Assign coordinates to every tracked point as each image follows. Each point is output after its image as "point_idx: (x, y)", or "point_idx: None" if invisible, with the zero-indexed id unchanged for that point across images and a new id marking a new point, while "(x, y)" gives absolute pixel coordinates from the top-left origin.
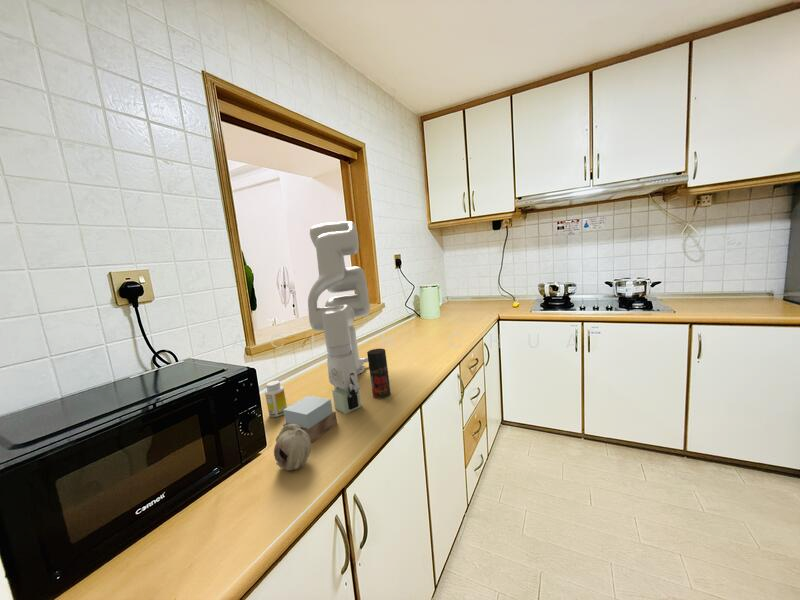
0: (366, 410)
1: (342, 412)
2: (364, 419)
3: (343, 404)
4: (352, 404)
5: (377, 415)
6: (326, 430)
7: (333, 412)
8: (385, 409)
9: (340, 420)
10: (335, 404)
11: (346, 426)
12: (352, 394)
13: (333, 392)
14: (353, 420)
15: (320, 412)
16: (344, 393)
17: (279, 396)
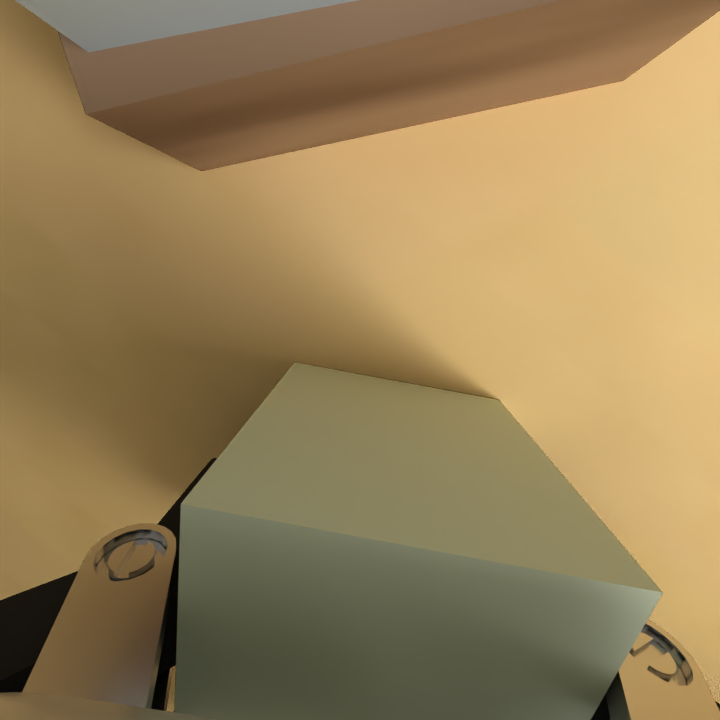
0: (167, 490)
1: (348, 372)
2: (37, 366)
3: (268, 405)
4: (204, 469)
5: (9, 463)
6: None
7: (84, 65)
8: (46, 556)
9: (226, 239)
10: (490, 419)
11: (58, 176)
12: (40, 598)
13: (585, 549)
14: (107, 304)
15: None
16: (220, 577)
17: None
